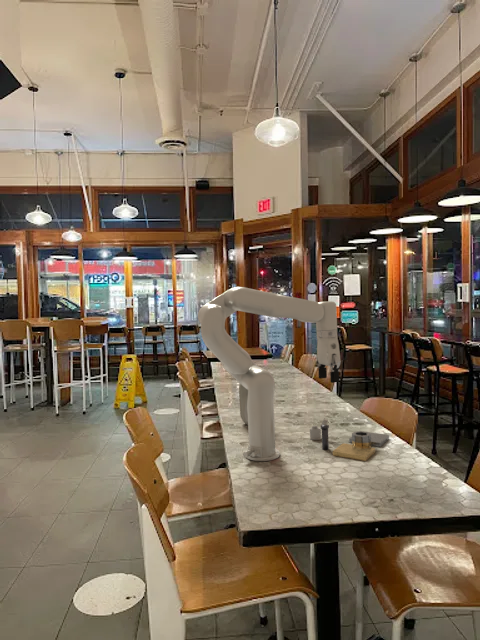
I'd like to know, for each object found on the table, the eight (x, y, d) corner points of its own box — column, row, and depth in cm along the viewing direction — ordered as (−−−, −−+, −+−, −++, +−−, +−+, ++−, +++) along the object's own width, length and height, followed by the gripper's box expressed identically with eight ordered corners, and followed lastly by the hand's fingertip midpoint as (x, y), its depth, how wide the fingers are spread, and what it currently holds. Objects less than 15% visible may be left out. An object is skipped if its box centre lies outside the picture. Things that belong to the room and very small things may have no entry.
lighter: (310, 439, 177) (309, 419, 177) (310, 438, 179) (309, 418, 178) (328, 439, 177) (327, 419, 176) (327, 437, 178) (327, 418, 178)
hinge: (365, 461, 152) (365, 446, 151) (332, 455, 158) (332, 441, 158) (389, 438, 174) (388, 426, 174) (359, 434, 181) (358, 422, 181)
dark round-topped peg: (327, 450, 163) (326, 427, 163) (320, 449, 165) (319, 426, 165) (330, 448, 166) (330, 424, 166) (323, 447, 168) (322, 423, 167)
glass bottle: (261, 427, 197) (258, 364, 196) (238, 426, 199) (235, 364, 198) (264, 421, 207) (262, 361, 206) (242, 420, 209) (240, 361, 208)
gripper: (347, 335, 159) (349, 383, 160) (325, 332, 176) (327, 375, 176) (328, 336, 157) (330, 385, 158) (308, 333, 173) (309, 377, 174)
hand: (328, 380), depth 167 cm, fingers open, 9 cm apart
